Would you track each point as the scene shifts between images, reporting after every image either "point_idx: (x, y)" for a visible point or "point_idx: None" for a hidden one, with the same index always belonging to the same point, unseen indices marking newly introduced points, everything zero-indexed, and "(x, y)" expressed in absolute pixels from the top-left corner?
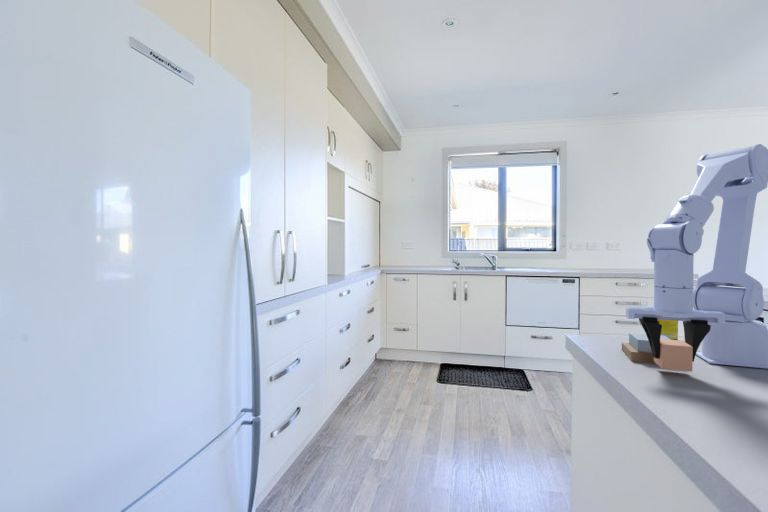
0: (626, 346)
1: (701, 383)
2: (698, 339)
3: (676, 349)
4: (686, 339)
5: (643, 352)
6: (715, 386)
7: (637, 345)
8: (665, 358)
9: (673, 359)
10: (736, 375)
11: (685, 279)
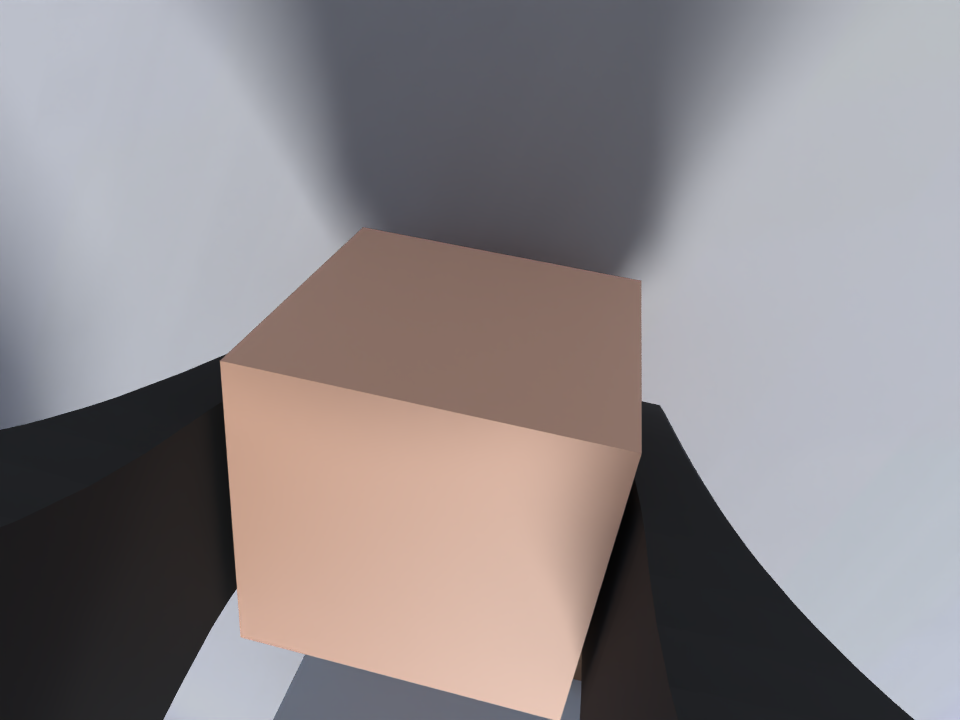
0: None
1: (359, 83)
2: (55, 441)
3: (447, 376)
4: (200, 600)
5: (576, 669)
6: (267, 14)
7: None
8: (602, 328)
9: (511, 312)
10: (27, 356)
11: None
